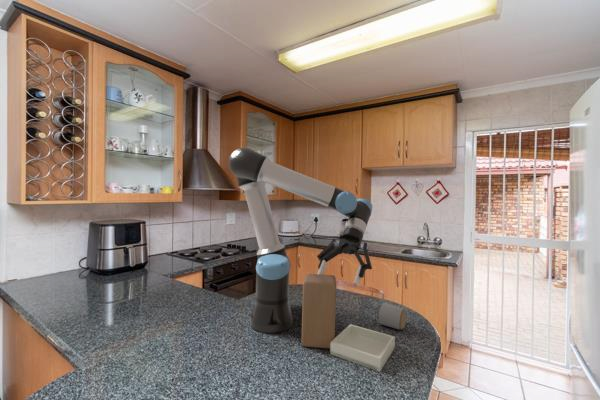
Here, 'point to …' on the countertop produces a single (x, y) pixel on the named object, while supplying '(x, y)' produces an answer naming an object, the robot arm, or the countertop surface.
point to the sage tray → (363, 347)
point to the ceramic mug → (392, 316)
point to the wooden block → (318, 310)
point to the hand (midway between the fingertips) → (336, 281)
